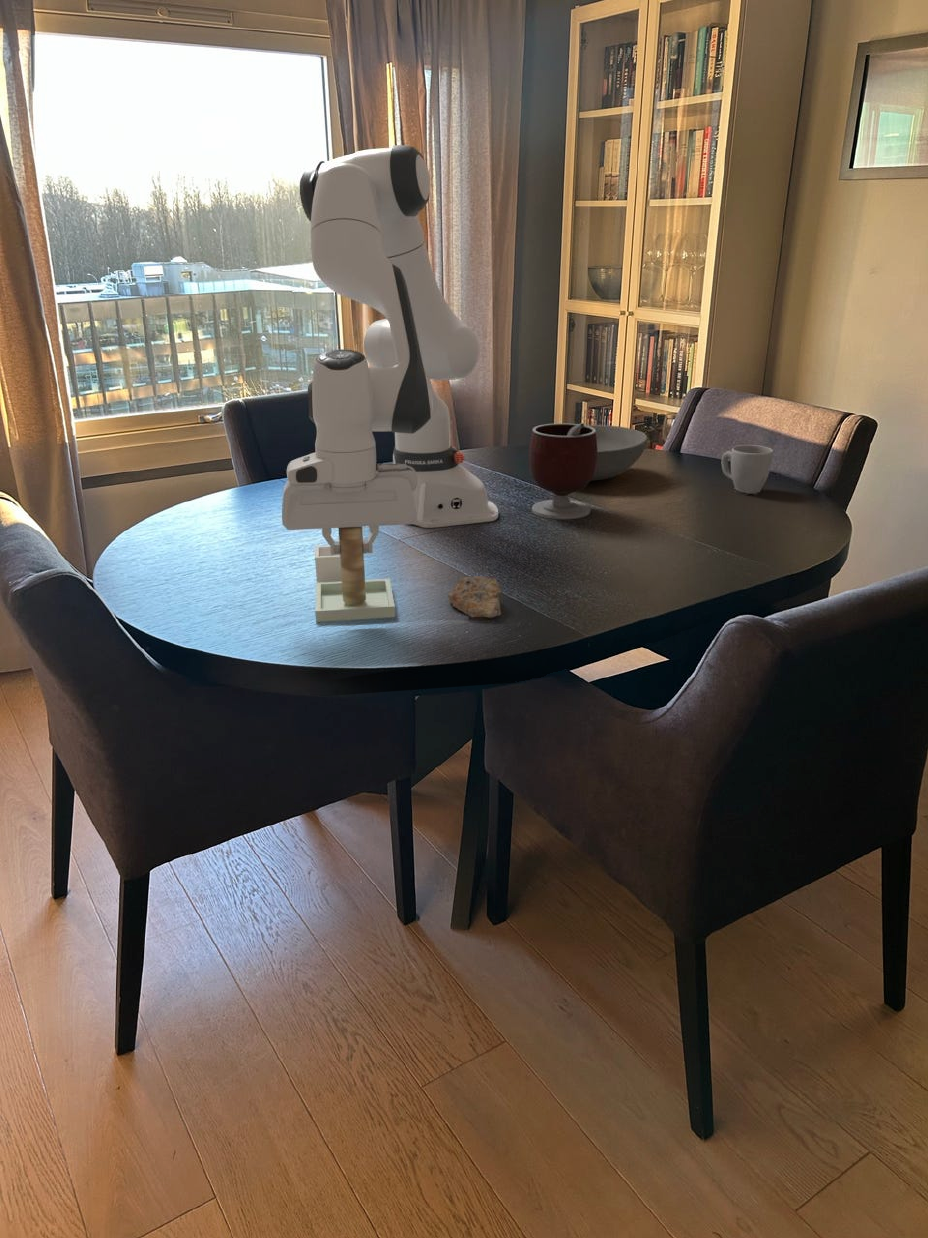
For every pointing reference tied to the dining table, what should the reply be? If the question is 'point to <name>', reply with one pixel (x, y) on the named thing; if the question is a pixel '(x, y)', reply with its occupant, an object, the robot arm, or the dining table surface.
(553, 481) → the mate gourd
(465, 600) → the rock
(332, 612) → the tray
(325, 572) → the pen cup
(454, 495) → the robot arm
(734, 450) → the mug
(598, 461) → the bowl
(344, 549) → the dowel
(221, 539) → the dining table surface
